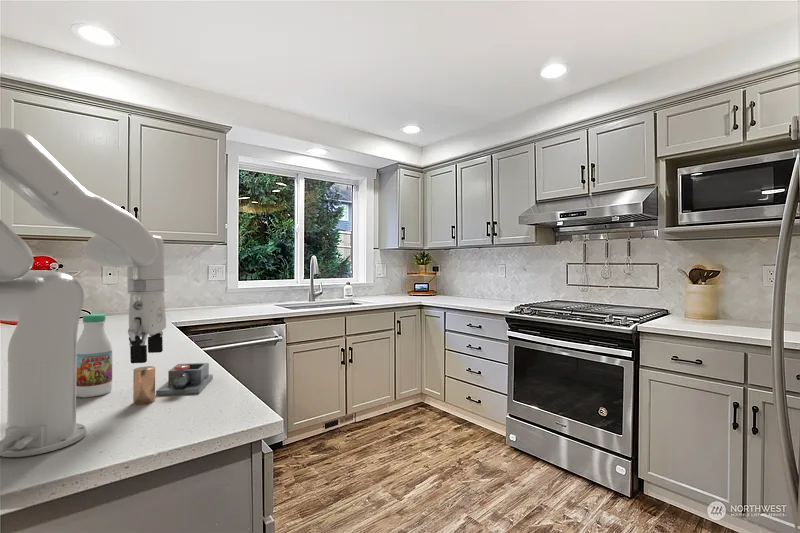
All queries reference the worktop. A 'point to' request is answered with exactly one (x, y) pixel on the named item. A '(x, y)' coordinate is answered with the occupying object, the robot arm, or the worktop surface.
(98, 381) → the milk bottle
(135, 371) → the pipe stub
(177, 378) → the block
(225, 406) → the worktop surface
